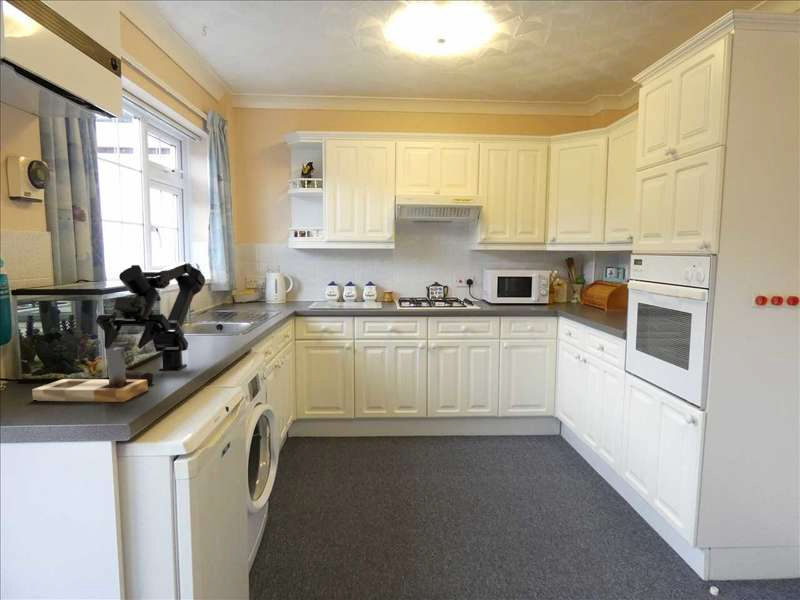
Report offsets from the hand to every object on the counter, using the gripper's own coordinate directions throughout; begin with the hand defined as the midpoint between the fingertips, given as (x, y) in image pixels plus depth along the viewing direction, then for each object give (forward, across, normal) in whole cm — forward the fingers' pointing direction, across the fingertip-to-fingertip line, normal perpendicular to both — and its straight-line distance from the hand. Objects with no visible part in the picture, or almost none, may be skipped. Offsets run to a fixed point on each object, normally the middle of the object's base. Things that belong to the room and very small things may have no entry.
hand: (122, 347), depth 121 cm
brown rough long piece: (+2, -6, +16) cm, 18 cm away
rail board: (+11, -8, +7) cm, 15 cm away
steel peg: (+11, 0, +7) cm, 13 cm away
